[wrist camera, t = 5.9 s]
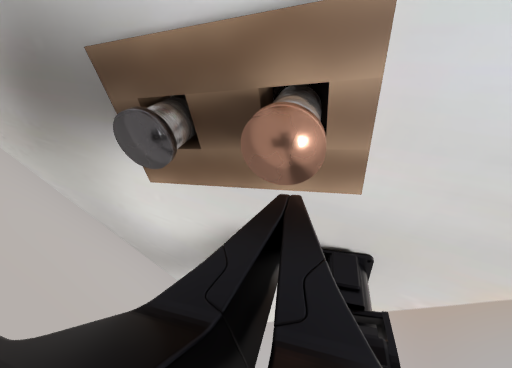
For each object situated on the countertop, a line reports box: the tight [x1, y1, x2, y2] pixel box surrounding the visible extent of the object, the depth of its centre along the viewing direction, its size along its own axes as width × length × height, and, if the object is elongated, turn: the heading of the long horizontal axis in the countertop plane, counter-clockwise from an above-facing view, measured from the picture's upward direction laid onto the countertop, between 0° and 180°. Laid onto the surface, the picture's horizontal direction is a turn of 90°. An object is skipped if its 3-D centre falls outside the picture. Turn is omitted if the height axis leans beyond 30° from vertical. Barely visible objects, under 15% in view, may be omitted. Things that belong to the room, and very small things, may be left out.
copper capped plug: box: [241, 85, 326, 185], centre depth 14 cm, size 4×4×7 cm
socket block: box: [84, 0, 397, 195], centre depth 18 cm, size 12×20×4 cm, turn 98°
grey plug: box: [113, 94, 197, 169], centre depth 18 cm, size 4×4×7 cm
